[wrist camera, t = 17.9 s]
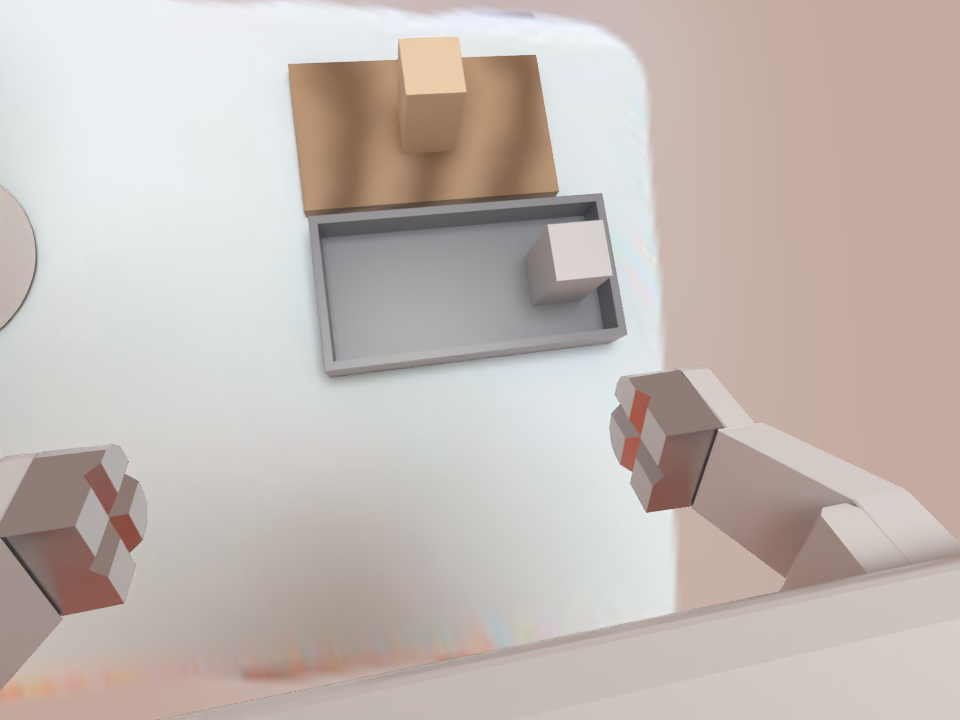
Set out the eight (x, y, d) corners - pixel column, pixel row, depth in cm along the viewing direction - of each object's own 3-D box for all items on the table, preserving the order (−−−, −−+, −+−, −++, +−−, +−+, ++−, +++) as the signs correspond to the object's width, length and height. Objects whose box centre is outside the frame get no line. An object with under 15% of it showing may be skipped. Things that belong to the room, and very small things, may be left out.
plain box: (532, 305, 47) (556, 281, 41) (524, 257, 48) (547, 224, 41) (580, 300, 48) (612, 275, 41) (572, 252, 49) (602, 219, 42)
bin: (329, 377, 45) (325, 370, 41) (313, 233, 46) (307, 216, 43) (610, 342, 49) (627, 334, 45) (587, 210, 50) (602, 193, 47)
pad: (306, 216, 46) (304, 210, 45) (290, 73, 48) (288, 64, 47) (554, 197, 50) (558, 191, 49) (532, 63, 51) (535, 54, 50)
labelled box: (403, 154, 47) (406, 94, 39) (396, 104, 48) (398, 36, 40) (453, 150, 48) (466, 91, 40) (446, 102, 48) (457, 34, 40)
